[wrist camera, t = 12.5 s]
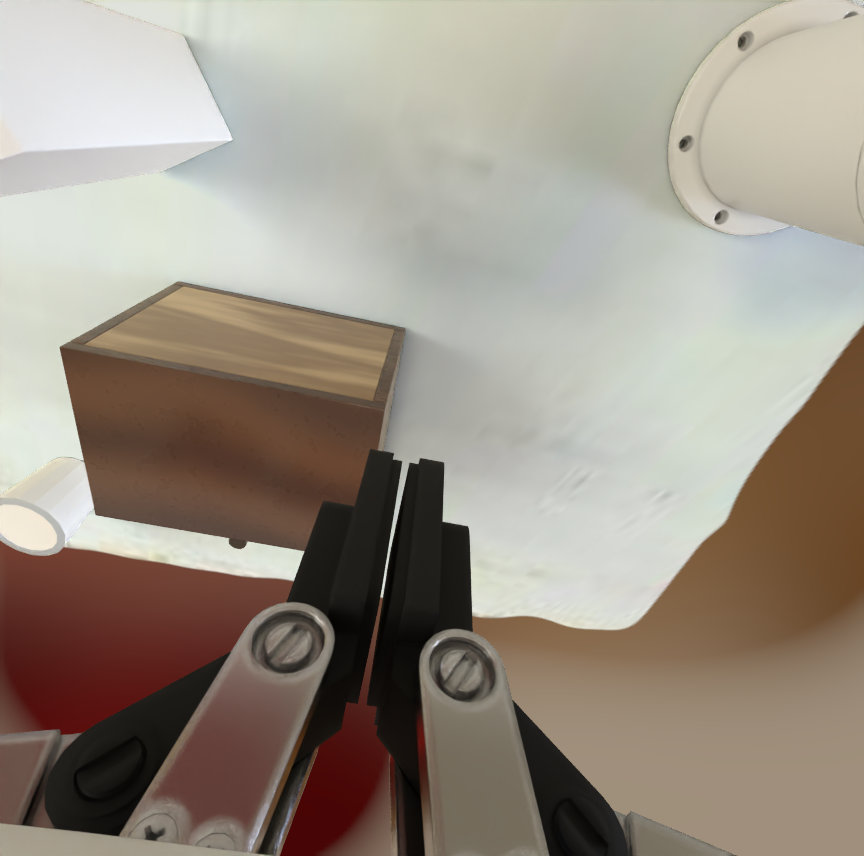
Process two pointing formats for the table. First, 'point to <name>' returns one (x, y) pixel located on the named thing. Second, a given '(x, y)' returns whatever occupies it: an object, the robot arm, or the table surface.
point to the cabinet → (229, 411)
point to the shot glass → (46, 507)
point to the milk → (96, 97)
